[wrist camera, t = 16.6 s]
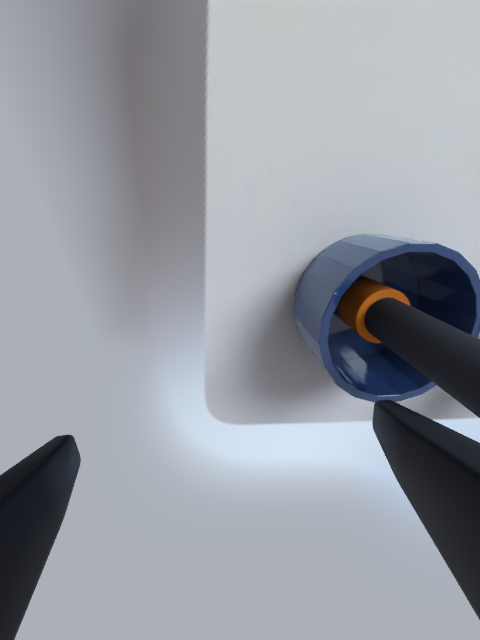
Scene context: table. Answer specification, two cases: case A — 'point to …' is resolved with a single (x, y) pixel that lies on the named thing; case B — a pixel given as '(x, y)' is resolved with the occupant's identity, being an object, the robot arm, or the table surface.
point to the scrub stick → (415, 338)
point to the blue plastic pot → (400, 274)
